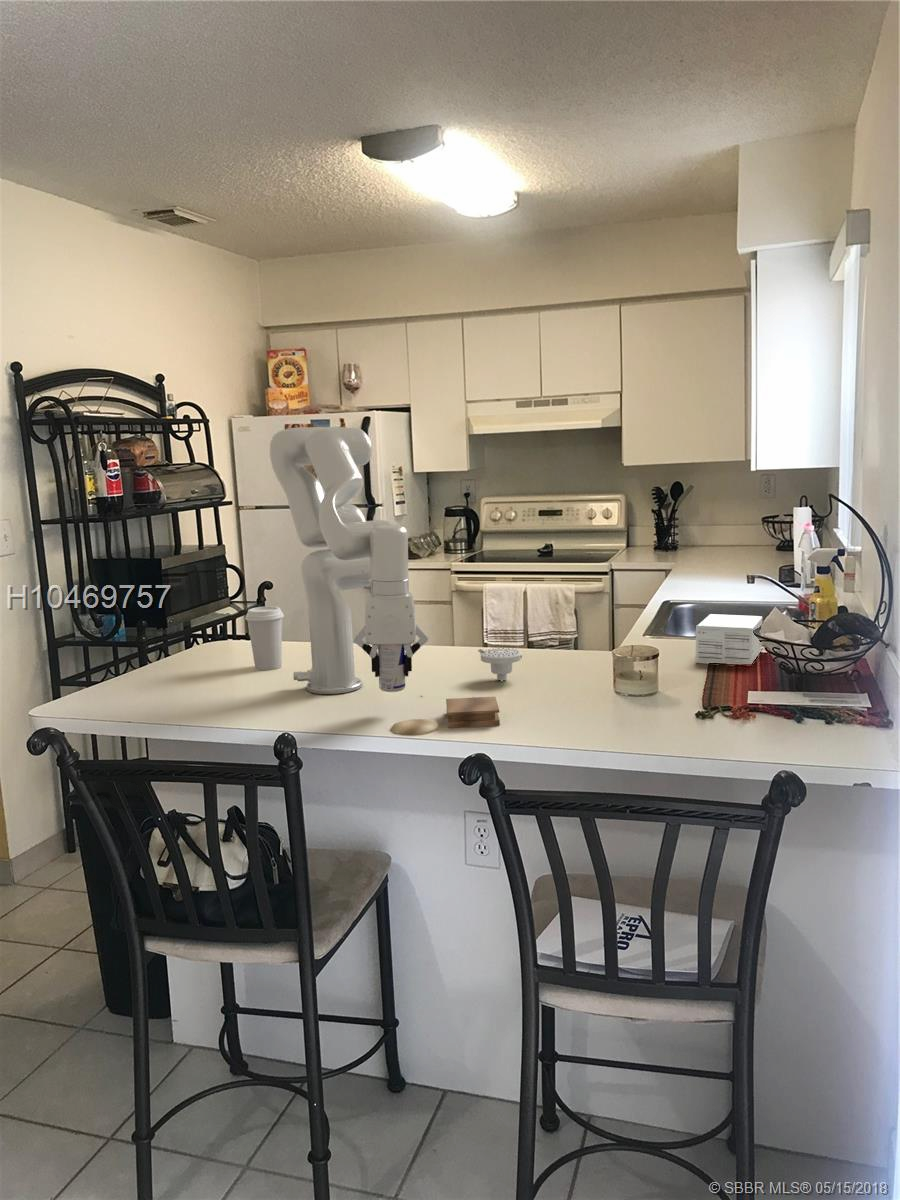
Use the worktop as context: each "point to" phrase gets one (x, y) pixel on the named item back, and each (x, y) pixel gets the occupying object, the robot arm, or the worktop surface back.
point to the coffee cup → (266, 636)
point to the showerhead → (501, 660)
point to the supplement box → (728, 639)
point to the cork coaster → (415, 727)
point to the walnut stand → (472, 712)
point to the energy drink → (391, 667)
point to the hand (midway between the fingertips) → (392, 674)
